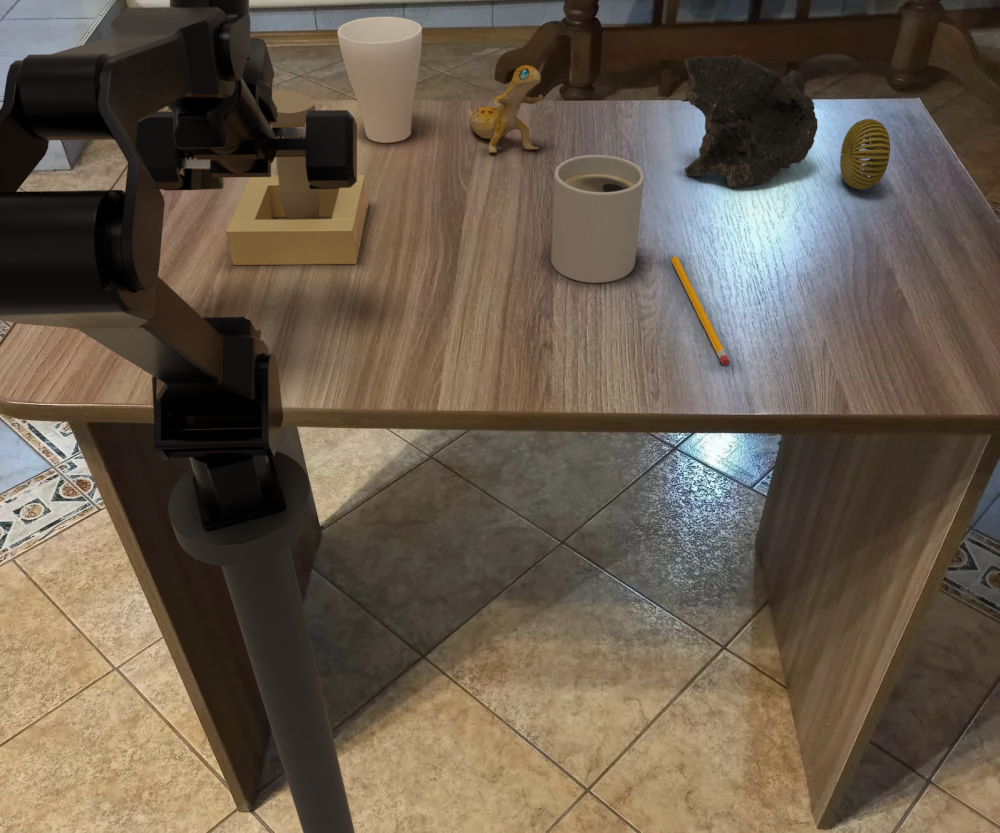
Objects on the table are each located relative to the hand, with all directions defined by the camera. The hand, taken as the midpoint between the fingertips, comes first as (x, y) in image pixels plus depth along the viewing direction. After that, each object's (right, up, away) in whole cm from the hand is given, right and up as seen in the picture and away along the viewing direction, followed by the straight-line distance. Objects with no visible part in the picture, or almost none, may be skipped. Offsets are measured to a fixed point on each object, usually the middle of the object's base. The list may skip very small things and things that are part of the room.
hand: (270, 183), depth 86 cm
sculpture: (+65, +5, +23) cm, 69 cm away
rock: (+52, +9, +28) cm, 59 cm away
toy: (+21, +14, +33) cm, 41 cm away
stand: (0, -2, +14) cm, 14 cm away
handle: (0, -2, +14) cm, 14 cm away
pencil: (+41, -12, +3) cm, 43 cm away
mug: (+32, -5, +11) cm, 34 cm away
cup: (+7, +15, +35) cm, 39 cm away
